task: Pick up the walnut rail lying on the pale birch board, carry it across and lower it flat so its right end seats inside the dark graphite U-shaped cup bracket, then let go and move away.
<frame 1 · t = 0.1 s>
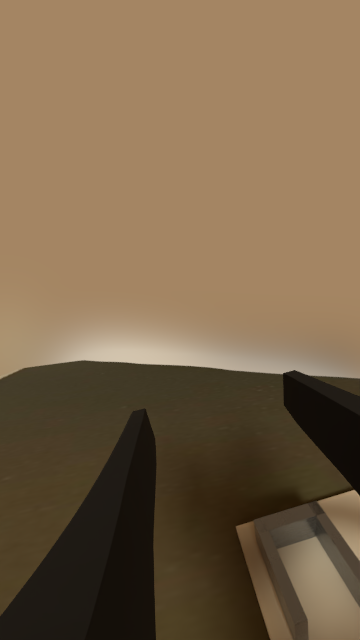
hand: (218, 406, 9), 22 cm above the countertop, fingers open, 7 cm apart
cup bracket: (306, 568, 16), resting on mounting board
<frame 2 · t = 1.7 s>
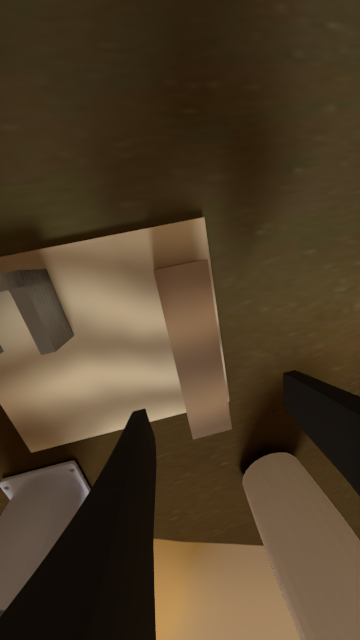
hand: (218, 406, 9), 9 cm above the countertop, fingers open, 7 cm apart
mounting board: (108, 346, 17), on the countertop
rail: (189, 341, 17), point 1 cm above the countertop, touching mounting board
cup bracket: (16, 311, 14), resting on mounting board
cup: (264, 463, 25), on the countertop
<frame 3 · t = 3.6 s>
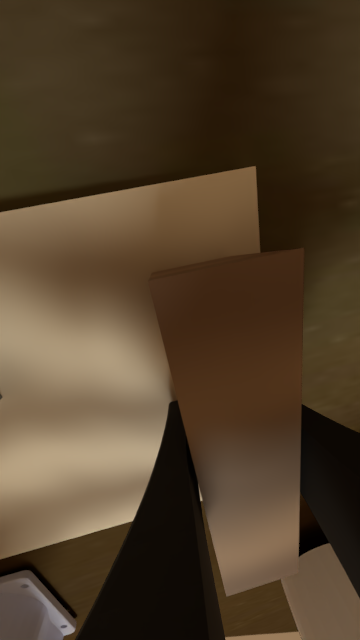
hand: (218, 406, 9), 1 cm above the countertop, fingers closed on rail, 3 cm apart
mounting board: (73, 407, 10), on the countertop
rail: (214, 397, 10), point 1 cm above the countertop, touching gripper, mounting board
cup: (309, 544, 18), on the countertop
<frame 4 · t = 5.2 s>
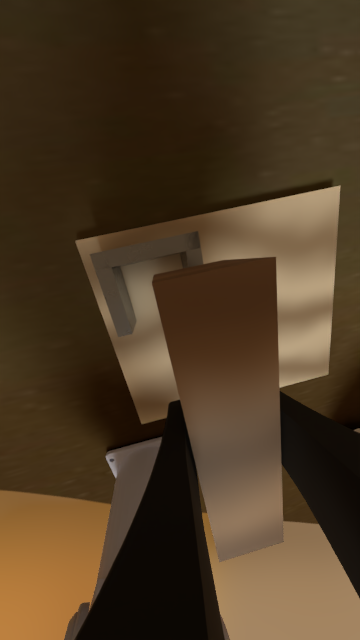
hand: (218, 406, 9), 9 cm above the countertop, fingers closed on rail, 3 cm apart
mounting board: (224, 318, 17), on the countertop
rail: (209, 387, 11), point 7 cm above the countertop, touching gripper
cup bracket: (155, 280, 15), resting on mounting board
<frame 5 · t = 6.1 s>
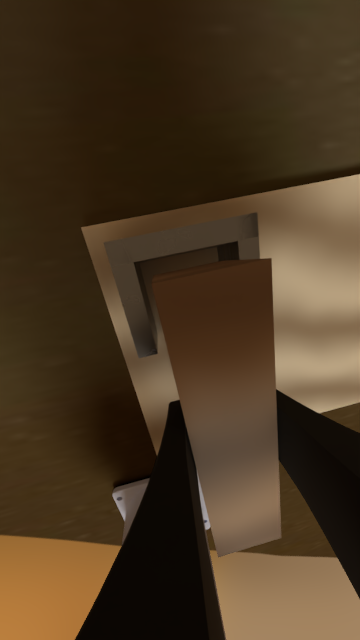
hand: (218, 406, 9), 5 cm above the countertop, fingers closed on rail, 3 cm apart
mounting board: (263, 329, 14), on the countertop
rail: (209, 386, 11), point 3 cm above the countertop, touching gripper
cup bracket: (183, 281, 11), resting on mounting board
when the fingers open (3 cm above the countertop, at t = 6.9 s): rail stays where it is, resting on mounting board.
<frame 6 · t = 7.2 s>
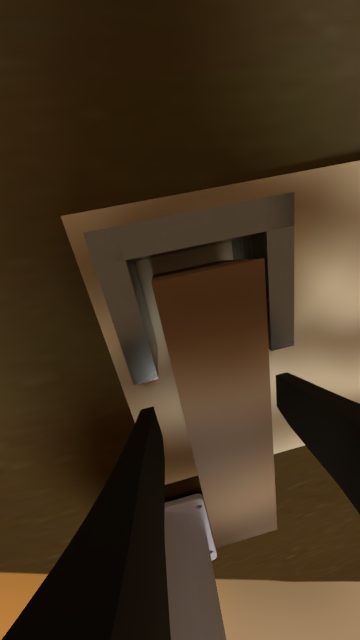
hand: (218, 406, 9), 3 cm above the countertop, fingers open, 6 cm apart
mounting board: (282, 340, 12), on the countertop
rail: (207, 383, 11), point 1 cm above the countertop, touching mounting board
cup bracket: (190, 284, 9), resting on mounting board
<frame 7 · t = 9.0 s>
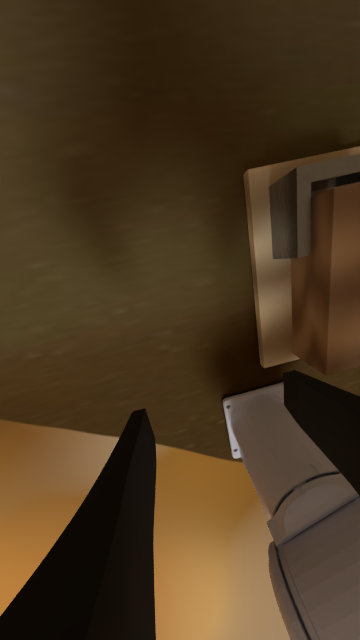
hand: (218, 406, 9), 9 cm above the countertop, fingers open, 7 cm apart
mounting board: (353, 260, 18), on the countertop
rail: (308, 285, 17), point 1 cm above the countertop, touching mounting board
cup bracket: (308, 213, 15), resting on mounting board
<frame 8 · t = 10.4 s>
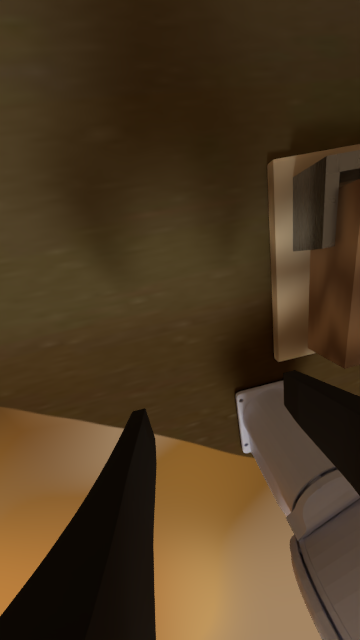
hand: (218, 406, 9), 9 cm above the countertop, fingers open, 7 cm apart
rail: (326, 279, 17), point 1 cm above the countertop, touching mounting board
cup bracket: (330, 206, 15), resting on mounting board
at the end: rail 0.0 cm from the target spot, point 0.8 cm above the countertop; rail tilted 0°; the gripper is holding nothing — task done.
